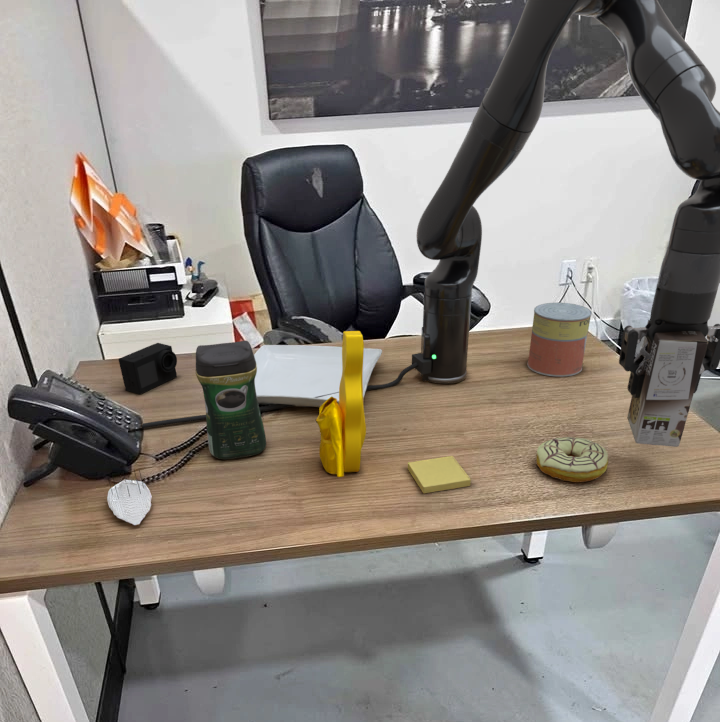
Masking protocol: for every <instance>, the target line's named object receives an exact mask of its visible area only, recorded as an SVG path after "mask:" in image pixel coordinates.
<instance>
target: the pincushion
mask: <svg viewBox="0 0 720 722" xmlns="http://www.w3.org/2000/svg"><path fill="white" fill-rule="evenodd" d="M133 472H134V473H136V471H135V469H133ZM122 474H123V475H125V473H124V472H122ZM111 475H112V479H113V484H114V486H112V487H111V482H110V478H109V477H107V479H108V480H107V481H108V483H109V487H110V488H109V489H108V492H107V496H106V497H107V498H106V501H107V504H108V508H109V509H110V510H111V511H112V512H113V515H114V516H116V518H117V519H120V520H122V521H124V522H126V523H129V524H132V526H137V525H140V524H141V522H142V521H143V520H144V519H145V517H146V515H147V514H148V513H149V512H150V510H151V507H152V503H151V502H152V498H153V496H152V493H151V490H150V488H149V487H148V486H147V484H146V483H145V482H143V478H142V474H141V470H140V469H139V475H140V480H138V478H137V475H136V474H134V476H135V480H133V479H132V480H131V479H126V477H125V476H123V478H124V480H121V481H120V482H118V483H117V484H116V482H115V479H114V474H113V473H112V474H111Z"/></svg>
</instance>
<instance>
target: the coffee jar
mask: <svg viewBox="0 0 720 722" xmlns="http://www.w3.org/2000/svg"><path fill="white" fill-rule="evenodd" d="M254 354H255V353H254V350H253V348H252V346H251V343H250V342H249V341H248V340H241V341H233V342H222V343H221V342H220V343H215V344H203V345H201V344H200V345H198V346H197V347H196V349H195V376H196V378H197V381H198V383H199V385H201V388H202V392H203V399H204V406H205V415H206V420H205V421H206V434H207V435H206V436H207V444H208V451H209V453H210V455H211V456H212V457H214V458H216V459H219V460H232V459H239V458H246V457H251V456H256V455H259V454H262V452H263V451H264V450H265V449H266V447H267V439H266V438H267V436H266V431H265V426H264V423H263V419H262V414H261V412H260V410H259V407H260V406H259V405H260V404H258V401H257V396H256V389H255V376H256V373H257V364H256V361H255V357H254Z"/></svg>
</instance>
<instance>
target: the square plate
mask: <svg viewBox="0 0 720 722" xmlns="http://www.w3.org/2000/svg"><path fill="white" fill-rule="evenodd" d="M253 354H254V357H255V361H256V364H257V373H256V376H255V389H256V396H257V401H258V405H261V406H269V405H275V404H288V405H296V406H295V407H306V408H320V406H321V405H322V404H323V403H324V402H325V401H326V400H328V399H329V398H330V397H334V398H336V399H337V403H338V405H339V393H336V392H339V386H340V381H341V377H342V346H336V345H335V346H333V345H308V344H307V345H303V344H264V345H261V346H260V347H259V348H258V349H257V350H256V352H255V353H253ZM382 354H383V349H381V348H371V347H364V354H363V374H362V381H363V399H364V398H365V394H366V391H367V390H366V388H367V386H368V385H369V382H370V379H371V375H372V373H373V370H374V368H375V366H376V364H377V362H378V361H379V359H380V358H381V356H382ZM332 393H335V394H332ZM327 394H330V395H327ZM322 395H326V396H322ZM318 396H322V397H318ZM314 397H318V398H314Z"/></svg>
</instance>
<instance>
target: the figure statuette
mask: <svg viewBox="0 0 720 722" xmlns="http://www.w3.org/2000/svg"><path fill="white" fill-rule="evenodd" d="M341 342H342V343H341V347H342V377H341V381H340V386H339V405H338V403H337V399H336V398H334V397H330V398H329V399H328V400H326V401H325V402H324V403H323V404H322V405H321V406H320V407H318V408H319V409H318V410H319V411H318V412H319V414H318V415H317V417H316V419H315V422H316V424H317V425H318V428H319V434H320V440H319V441H320V442H319V450H318V451H319V452H318V453H319V455H318V457H319V459H320V462H321V465H322V467H323V469H324V470H325V472H326V473H327V474H328V473H329V474H331V475H336V478H344V477H345V473H355V472H357V473H358V472H359V471H360V469H361V458H362V449H363V446H364V443H365V440H366V435H367V425H366V415H365V409H364V408H365V407H364V398H363V381H362V374H363V354H364V348H365V341H364V336H363V334H362V332H361V331H360V330H344V331H343V333H342V341H341Z"/></svg>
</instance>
